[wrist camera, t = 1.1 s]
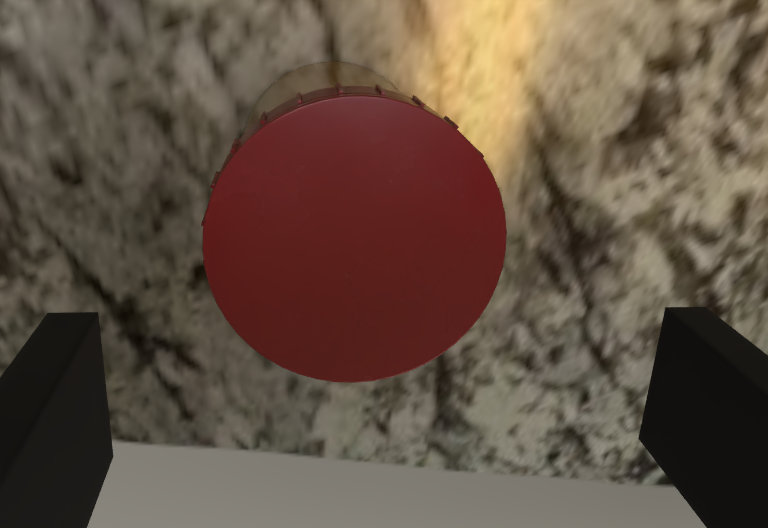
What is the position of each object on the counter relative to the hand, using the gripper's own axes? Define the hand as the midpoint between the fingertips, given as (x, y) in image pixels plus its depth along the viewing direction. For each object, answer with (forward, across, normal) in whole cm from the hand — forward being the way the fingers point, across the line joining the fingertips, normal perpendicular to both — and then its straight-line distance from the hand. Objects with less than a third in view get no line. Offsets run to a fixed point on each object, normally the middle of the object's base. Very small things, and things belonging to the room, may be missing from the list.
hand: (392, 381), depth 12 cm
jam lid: (+7, 0, 0) cm, 7 cm away
